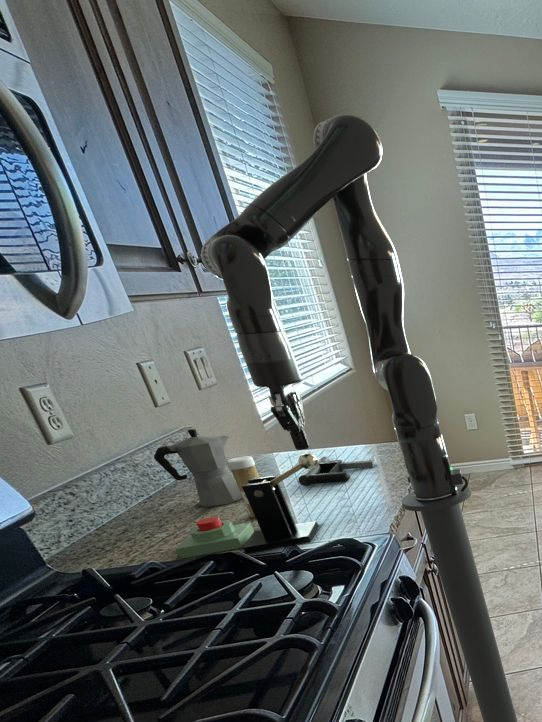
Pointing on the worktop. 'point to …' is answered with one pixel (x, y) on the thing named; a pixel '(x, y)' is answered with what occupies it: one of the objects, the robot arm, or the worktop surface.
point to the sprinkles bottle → (243, 474)
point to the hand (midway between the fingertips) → (303, 448)
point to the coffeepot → (203, 467)
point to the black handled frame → (331, 471)
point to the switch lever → (296, 468)
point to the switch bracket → (273, 518)
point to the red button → (209, 524)
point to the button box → (215, 539)
